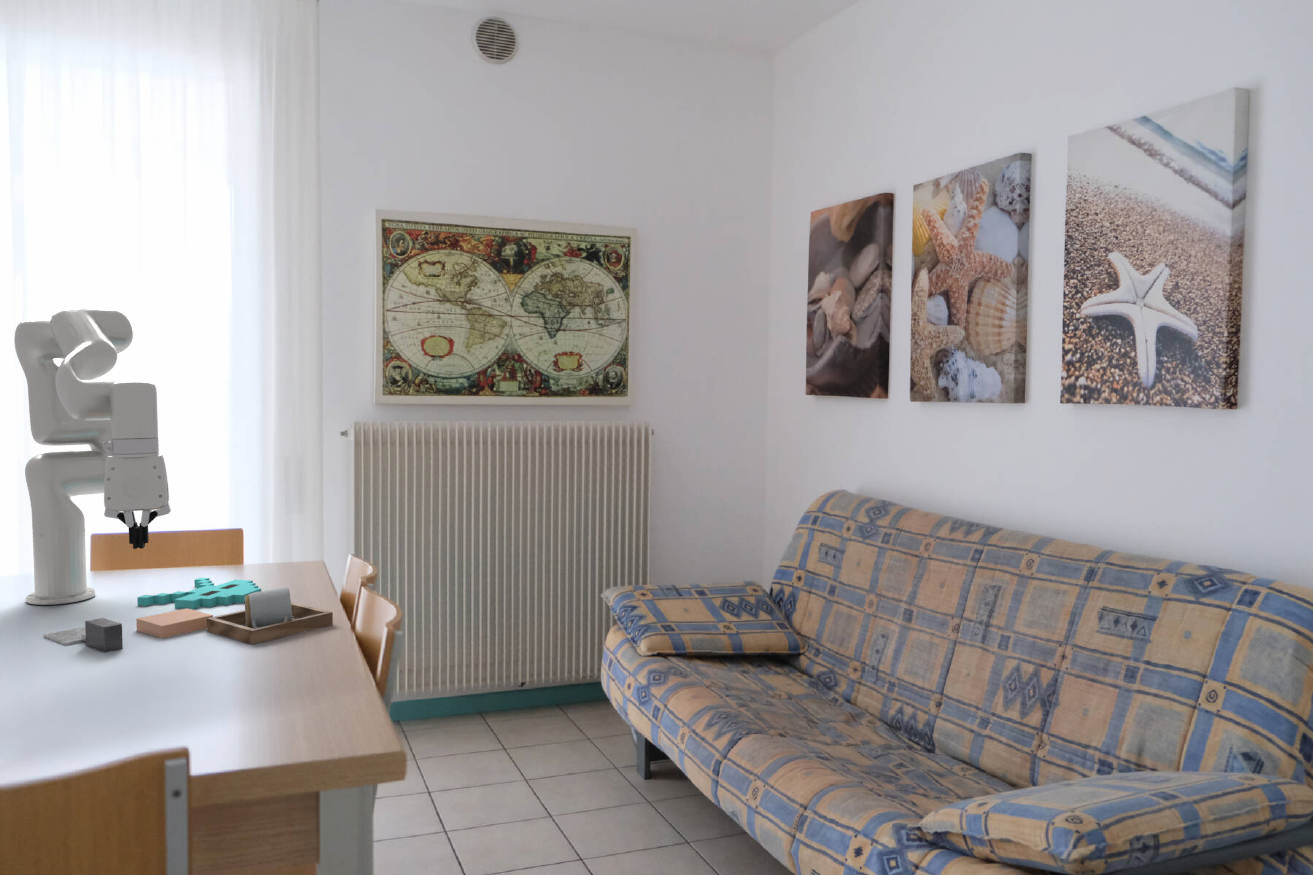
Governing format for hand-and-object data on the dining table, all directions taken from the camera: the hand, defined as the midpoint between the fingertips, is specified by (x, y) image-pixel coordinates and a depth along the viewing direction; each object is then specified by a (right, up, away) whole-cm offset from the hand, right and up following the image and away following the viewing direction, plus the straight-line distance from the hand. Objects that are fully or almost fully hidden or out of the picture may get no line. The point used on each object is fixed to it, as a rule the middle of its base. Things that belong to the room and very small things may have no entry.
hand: (139, 547), depth 176 cm
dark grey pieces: (-8, -17, -2) cm, 19 cm away
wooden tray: (+21, -16, +8) cm, 28 cm away
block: (-1, -15, +9) cm, 18 cm away
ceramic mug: (+22, -17, +6) cm, 28 cm away
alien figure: (-2, -15, +33) cm, 36 cm away
